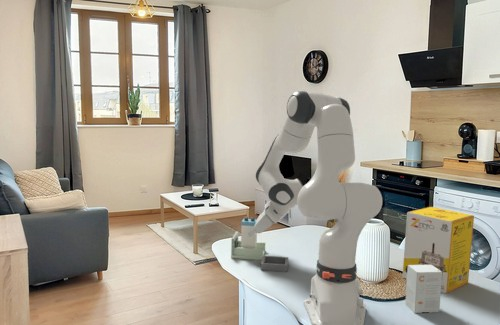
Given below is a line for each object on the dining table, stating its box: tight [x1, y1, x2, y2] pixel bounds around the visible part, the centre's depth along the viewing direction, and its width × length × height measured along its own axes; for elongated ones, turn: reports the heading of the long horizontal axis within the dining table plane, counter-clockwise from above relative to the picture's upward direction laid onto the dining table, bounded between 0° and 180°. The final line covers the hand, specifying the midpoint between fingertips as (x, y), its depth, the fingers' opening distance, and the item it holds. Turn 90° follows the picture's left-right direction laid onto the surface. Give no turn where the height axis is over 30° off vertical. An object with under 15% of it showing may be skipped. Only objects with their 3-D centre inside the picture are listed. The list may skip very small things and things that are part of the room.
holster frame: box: [260, 255, 289, 273], centre depth 158 cm, size 9×10×2 cm
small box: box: [404, 265, 442, 314], centre depth 126 cm, size 8×6×13 cm
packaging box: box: [402, 206, 475, 294], centre depth 147 cm, size 16×16×25 cm
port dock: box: [230, 230, 266, 261], centre depth 171 cm, size 12×13×8 cm
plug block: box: [240, 216, 258, 249], centre depth 171 cm, size 5×6×15 cm
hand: (250, 232), depth 171 cm, fingers open, 8 cm apart
